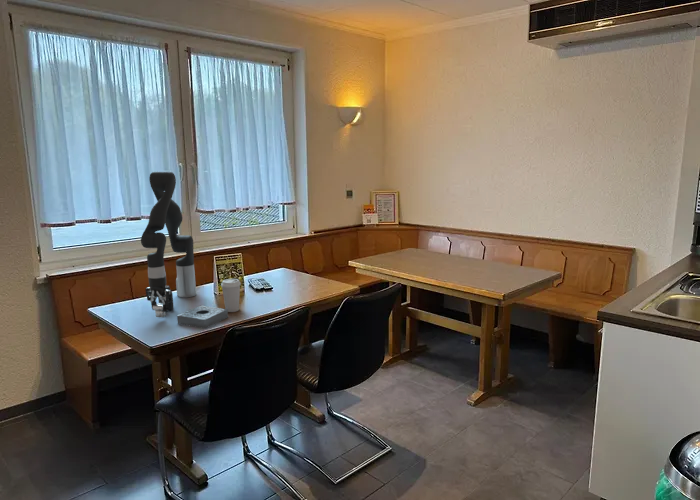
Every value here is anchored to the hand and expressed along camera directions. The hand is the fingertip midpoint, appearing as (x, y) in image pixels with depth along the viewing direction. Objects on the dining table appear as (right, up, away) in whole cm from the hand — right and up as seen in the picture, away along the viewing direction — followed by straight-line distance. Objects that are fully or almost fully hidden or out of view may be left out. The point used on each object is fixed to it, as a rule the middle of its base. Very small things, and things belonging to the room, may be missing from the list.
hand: (160, 310), depth 230 cm
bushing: (0, -3, +1) cm, 3 cm away
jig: (+20, -5, +1) cm, 20 cm away
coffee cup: (+30, -2, +16) cm, 34 cm away
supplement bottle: (-3, -2, +17) cm, 18 cm away
